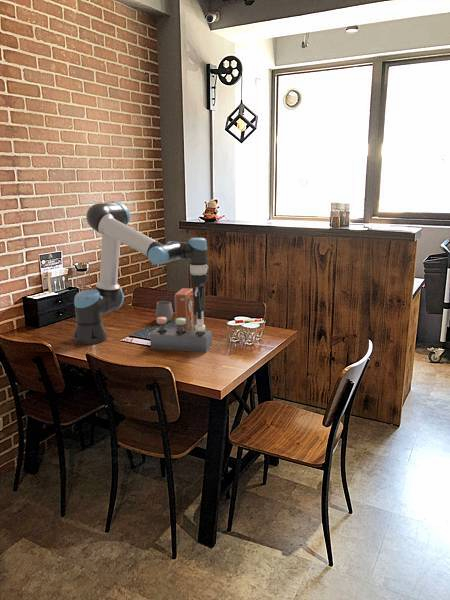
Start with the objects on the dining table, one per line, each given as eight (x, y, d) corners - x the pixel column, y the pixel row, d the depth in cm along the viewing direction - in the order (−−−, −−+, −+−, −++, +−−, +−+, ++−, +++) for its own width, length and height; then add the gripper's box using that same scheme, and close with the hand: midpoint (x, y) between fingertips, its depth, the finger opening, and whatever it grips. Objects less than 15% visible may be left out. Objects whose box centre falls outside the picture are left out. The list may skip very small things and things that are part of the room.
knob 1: (155, 336, 228) (155, 319, 226) (159, 333, 232) (158, 316, 230) (165, 337, 227) (164, 319, 225) (168, 334, 231) (167, 317, 229)
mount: (150, 348, 227) (150, 334, 225) (158, 341, 236) (157, 327, 234) (206, 352, 222) (206, 337, 220) (211, 344, 231) (211, 330, 229)
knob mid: (174, 337, 226) (174, 320, 224) (177, 334, 230) (177, 317, 228) (184, 338, 225) (184, 320, 223) (187, 335, 229) (186, 318, 227)
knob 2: (194, 344, 225) (193, 326, 223) (196, 341, 229) (196, 323, 227) (204, 344, 224) (203, 327, 222) (206, 341, 228) (206, 324, 226)
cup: (164, 317, 276) (163, 299, 274) (176, 319, 271) (176, 302, 269) (152, 321, 269) (151, 303, 267) (165, 324, 264) (164, 305, 261)
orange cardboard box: (195, 328, 255) (187, 338, 241) (182, 328, 256) (173, 337, 242) (194, 288, 250) (186, 295, 236) (181, 287, 251) (172, 294, 237)
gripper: (203, 276, 212) (204, 330, 217) (210, 271, 224) (211, 321, 230) (186, 276, 213) (188, 329, 219) (194, 270, 226) (195, 320, 231)
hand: (200, 325), depth 224 cm, fingers closed
